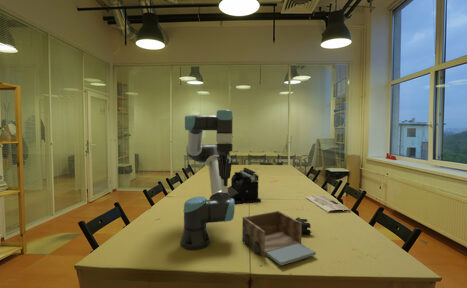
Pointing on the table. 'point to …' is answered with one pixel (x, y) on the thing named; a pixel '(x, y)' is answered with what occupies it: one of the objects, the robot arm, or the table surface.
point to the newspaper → (327, 203)
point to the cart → (270, 231)
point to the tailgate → (290, 253)
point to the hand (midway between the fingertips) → (224, 192)
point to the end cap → (304, 226)
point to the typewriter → (244, 187)
